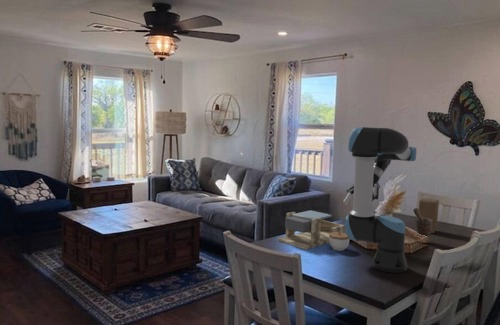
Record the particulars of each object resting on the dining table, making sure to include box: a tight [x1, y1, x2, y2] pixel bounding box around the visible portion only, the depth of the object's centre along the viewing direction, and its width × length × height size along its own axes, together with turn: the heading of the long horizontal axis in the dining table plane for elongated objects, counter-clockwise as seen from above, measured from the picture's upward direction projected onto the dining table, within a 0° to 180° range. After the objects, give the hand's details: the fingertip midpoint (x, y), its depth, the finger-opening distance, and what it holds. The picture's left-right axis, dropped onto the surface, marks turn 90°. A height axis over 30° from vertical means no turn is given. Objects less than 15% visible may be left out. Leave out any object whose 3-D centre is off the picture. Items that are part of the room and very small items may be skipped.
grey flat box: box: [284, 209, 333, 233], centre depth 229 cm, size 24×16×7 cm, turn 133°
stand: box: [277, 211, 346, 251], centre depth 232 cm, size 35×20×15 cm, turn 133°
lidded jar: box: [329, 232, 350, 252], centre depth 216 cm, size 11×11×9 cm
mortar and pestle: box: [412, 207, 433, 242], centre depth 231 cm, size 12×9×20 cm
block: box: [417, 198, 440, 234], centre depth 257 cm, size 10×10×20 cm
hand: (354, 205), depth 221 cm, fingers open, 13 cm apart
